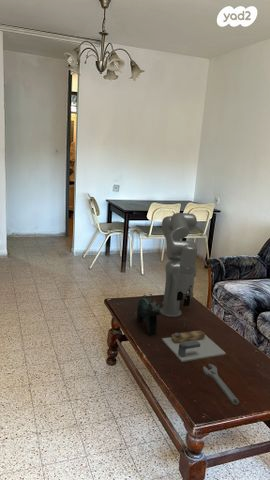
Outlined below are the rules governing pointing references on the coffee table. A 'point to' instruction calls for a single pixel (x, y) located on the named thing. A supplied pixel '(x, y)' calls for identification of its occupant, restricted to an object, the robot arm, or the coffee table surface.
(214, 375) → the adjustable wrench
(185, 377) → the coffee table surface
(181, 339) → the tan bar
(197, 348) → the mounting board
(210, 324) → the coffee table surface
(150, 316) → the ceramic cat
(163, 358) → the coffee table surface
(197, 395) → the coffee table surface
